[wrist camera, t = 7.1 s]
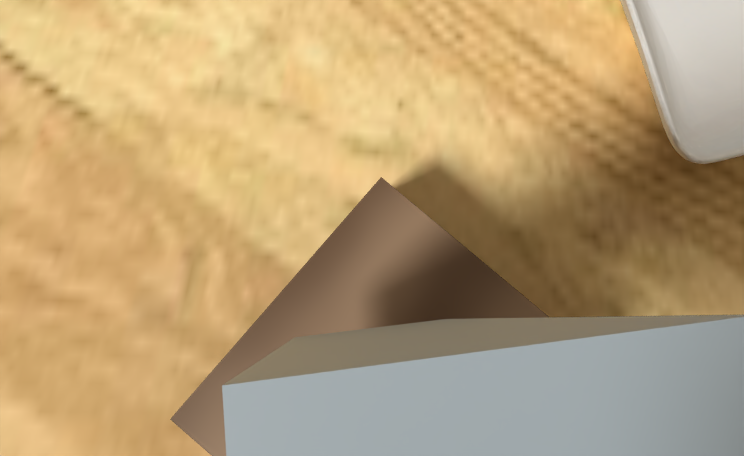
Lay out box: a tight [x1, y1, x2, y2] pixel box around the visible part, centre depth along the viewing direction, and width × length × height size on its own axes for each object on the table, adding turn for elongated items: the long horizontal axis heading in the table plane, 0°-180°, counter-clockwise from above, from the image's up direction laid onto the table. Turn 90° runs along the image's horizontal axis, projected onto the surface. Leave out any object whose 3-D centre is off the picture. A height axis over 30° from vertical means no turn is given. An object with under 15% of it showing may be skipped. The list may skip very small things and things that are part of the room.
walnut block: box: [170, 177, 548, 456], centre depth 21 cm, size 12×12×4 cm
